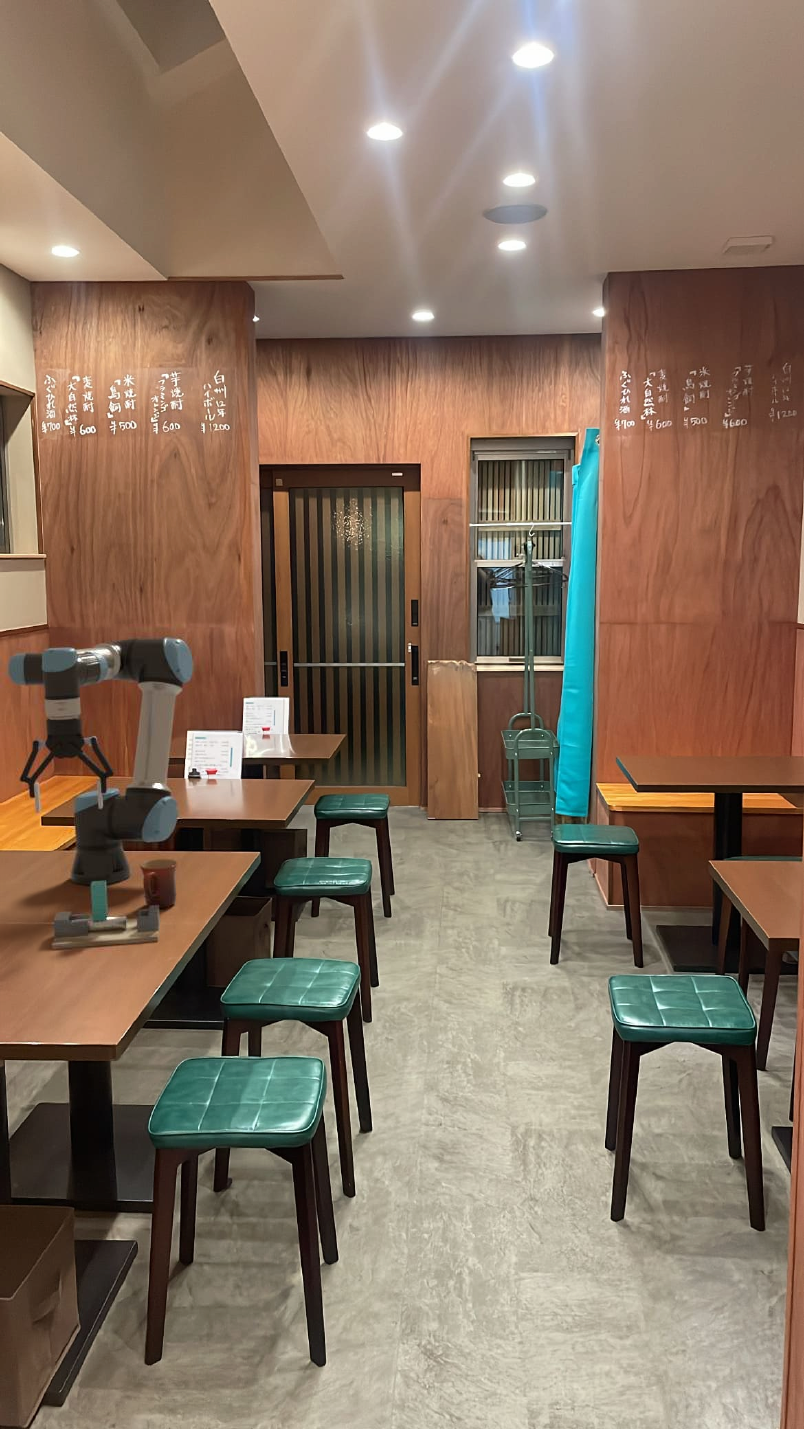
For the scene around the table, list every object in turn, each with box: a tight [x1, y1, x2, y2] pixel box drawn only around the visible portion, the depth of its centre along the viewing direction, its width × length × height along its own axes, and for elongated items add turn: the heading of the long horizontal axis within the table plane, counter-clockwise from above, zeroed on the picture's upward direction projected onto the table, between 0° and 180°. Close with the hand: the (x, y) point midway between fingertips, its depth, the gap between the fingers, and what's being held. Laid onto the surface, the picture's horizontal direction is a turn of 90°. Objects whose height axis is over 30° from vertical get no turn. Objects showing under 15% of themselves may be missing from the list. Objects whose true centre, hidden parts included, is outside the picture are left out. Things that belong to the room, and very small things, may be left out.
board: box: [51, 916, 161, 950], centre depth 237 cm, size 14×22×1 cm, turn 100°
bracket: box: [53, 911, 91, 939], centre depth 235 cm, size 6×7×4 cm
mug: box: [140, 858, 179, 910], centre depth 256 cm, size 12×9×10 cm
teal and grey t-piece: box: [69, 881, 128, 932], centre depth 235 cm, size 3×15×11 cm, turn 100°
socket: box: [136, 905, 161, 932], centre depth 238 cm, size 6×4×4 cm
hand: (69, 809), depth 243 cm, fingers open, 13 cm apart
